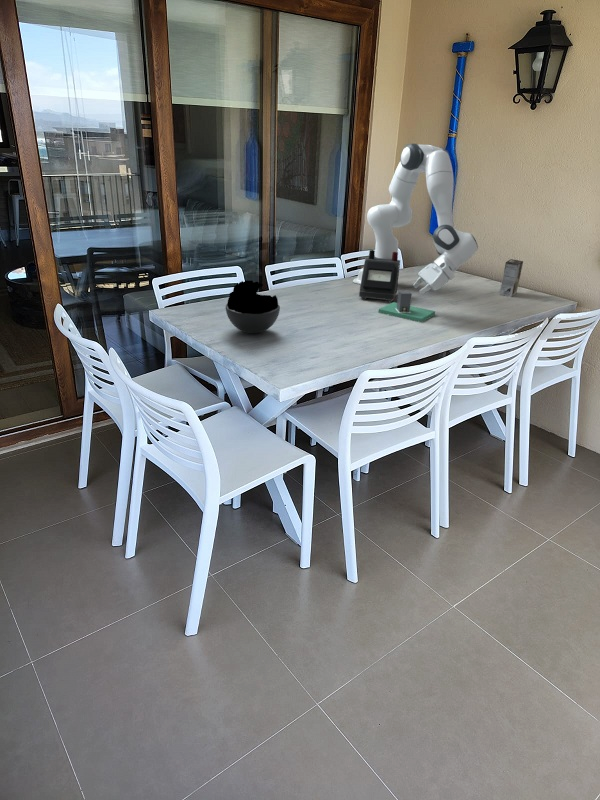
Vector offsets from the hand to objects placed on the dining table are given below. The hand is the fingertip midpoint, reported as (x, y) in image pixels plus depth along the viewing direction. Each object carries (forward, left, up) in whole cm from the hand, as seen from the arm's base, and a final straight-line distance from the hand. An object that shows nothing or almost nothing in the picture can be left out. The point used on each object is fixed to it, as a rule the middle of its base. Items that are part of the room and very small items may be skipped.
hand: (417, 289), depth 227 cm
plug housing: (-4, -3, -9) cm, 10 cm away
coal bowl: (-37, -63, -11) cm, 74 cm away
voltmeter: (-25, +14, -11) cm, 30 cm away
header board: (-3, -1, -11) cm, 11 cm away
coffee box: (+21, +64, -11) cm, 68 cm away
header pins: (-4, -3, -9) cm, 10 cm away
